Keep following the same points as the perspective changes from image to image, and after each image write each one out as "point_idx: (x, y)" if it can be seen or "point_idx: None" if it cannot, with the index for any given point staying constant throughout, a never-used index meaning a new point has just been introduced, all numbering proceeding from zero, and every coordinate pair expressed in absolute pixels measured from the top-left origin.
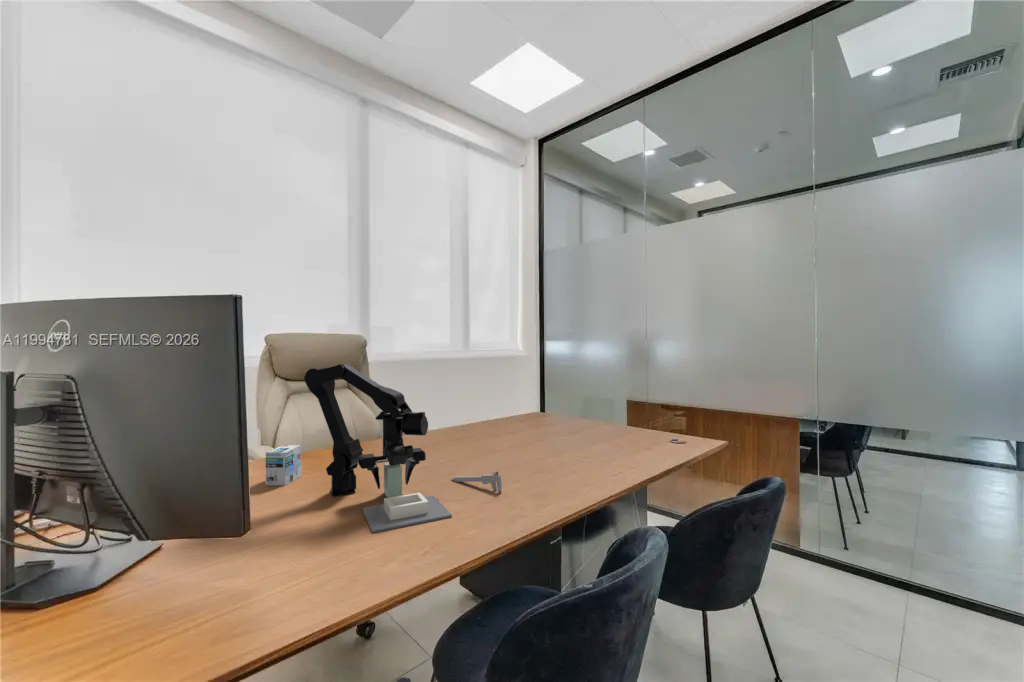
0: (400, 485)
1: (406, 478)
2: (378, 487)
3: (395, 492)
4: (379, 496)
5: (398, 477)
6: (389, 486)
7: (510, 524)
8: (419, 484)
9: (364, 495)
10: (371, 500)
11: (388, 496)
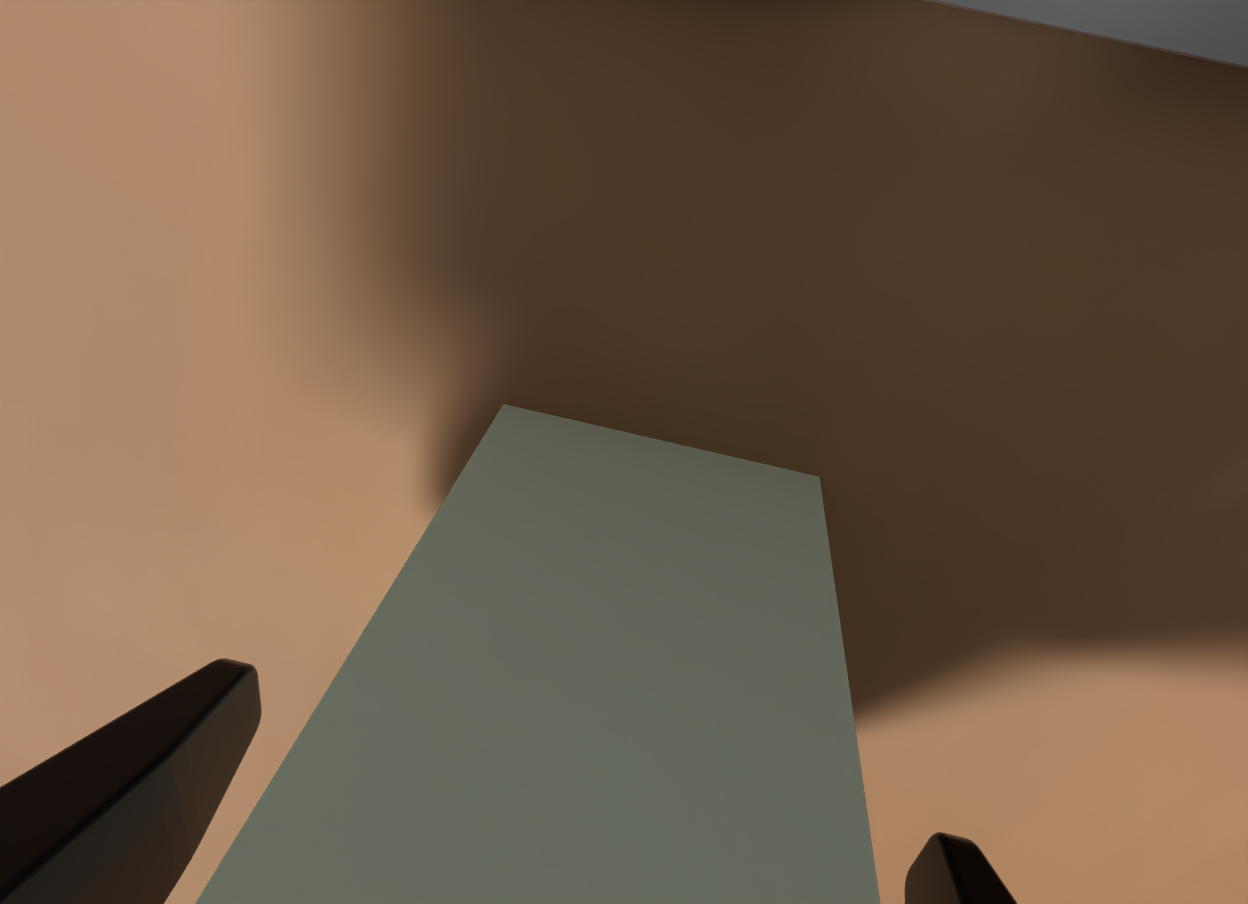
0: (440, 599)
1: (137, 810)
2: (988, 877)
3: (635, 515)
4: (863, 709)
5: (389, 898)
6: (807, 705)
7: None
8: (61, 715)
9: (1027, 883)
10: (1122, 644)
11: (821, 511)
